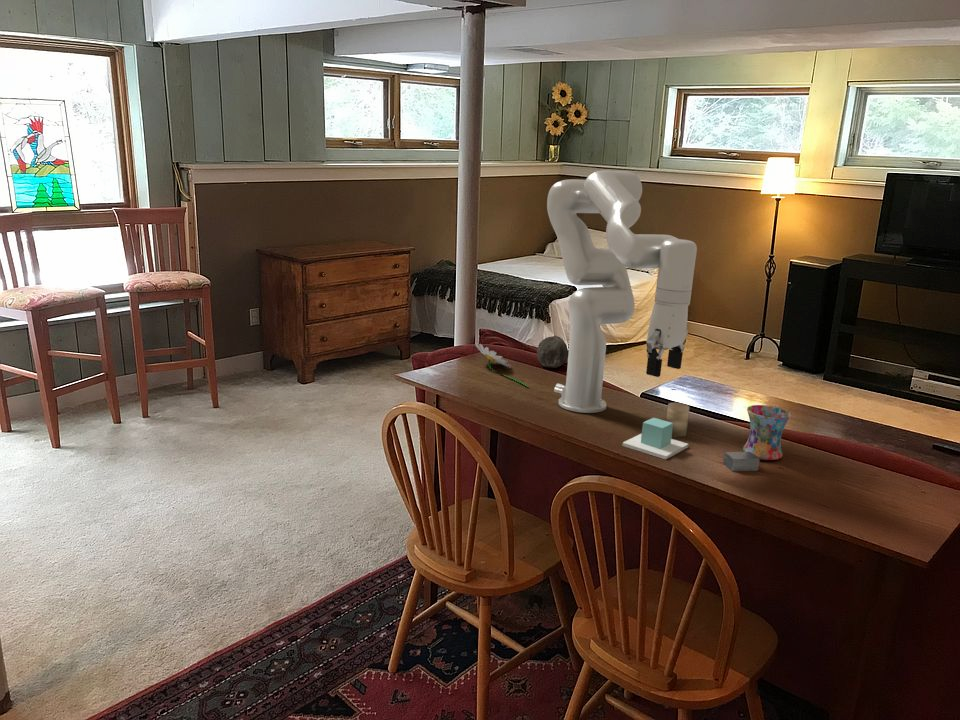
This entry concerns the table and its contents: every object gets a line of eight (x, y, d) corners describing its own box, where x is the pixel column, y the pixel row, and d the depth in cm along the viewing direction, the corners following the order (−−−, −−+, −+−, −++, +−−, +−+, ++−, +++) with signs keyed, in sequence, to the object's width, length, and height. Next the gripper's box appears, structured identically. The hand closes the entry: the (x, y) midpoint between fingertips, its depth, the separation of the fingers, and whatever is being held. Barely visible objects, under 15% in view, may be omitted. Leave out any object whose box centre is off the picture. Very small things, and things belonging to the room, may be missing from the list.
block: (640, 442, 174) (642, 422, 173) (651, 437, 178) (653, 417, 177) (660, 449, 171) (662, 428, 170) (670, 443, 175) (673, 423, 174)
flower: (520, 370, 211) (471, 334, 235) (509, 386, 211) (461, 349, 235) (549, 389, 218) (499, 353, 242) (538, 405, 218) (490, 367, 242)
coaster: (622, 445, 174) (622, 442, 174) (645, 434, 182) (646, 431, 182) (665, 459, 168) (666, 456, 167) (688, 447, 176) (688, 443, 175)
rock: (542, 368, 232) (546, 336, 231) (530, 363, 243) (534, 332, 242) (572, 371, 235) (576, 339, 234) (559, 366, 246) (563, 335, 245)
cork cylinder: (661, 432, 184) (664, 405, 182) (670, 428, 188) (674, 401, 186) (680, 438, 181) (683, 410, 179) (689, 433, 185) (693, 406, 183)
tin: (731, 472, 163) (733, 459, 162) (723, 465, 167) (724, 452, 166) (757, 471, 164) (759, 458, 163) (748, 464, 168) (750, 451, 167)
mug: (768, 466, 167) (775, 420, 164) (732, 452, 174) (738, 408, 171) (798, 456, 174) (806, 412, 171) (762, 443, 181) (769, 400, 178)
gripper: (675, 289, 175) (666, 361, 179) (637, 298, 162) (629, 374, 166) (706, 295, 170) (696, 368, 175) (669, 303, 157) (660, 382, 162)
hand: (663, 371), depth 171 cm, fingers open, 9 cm apart
